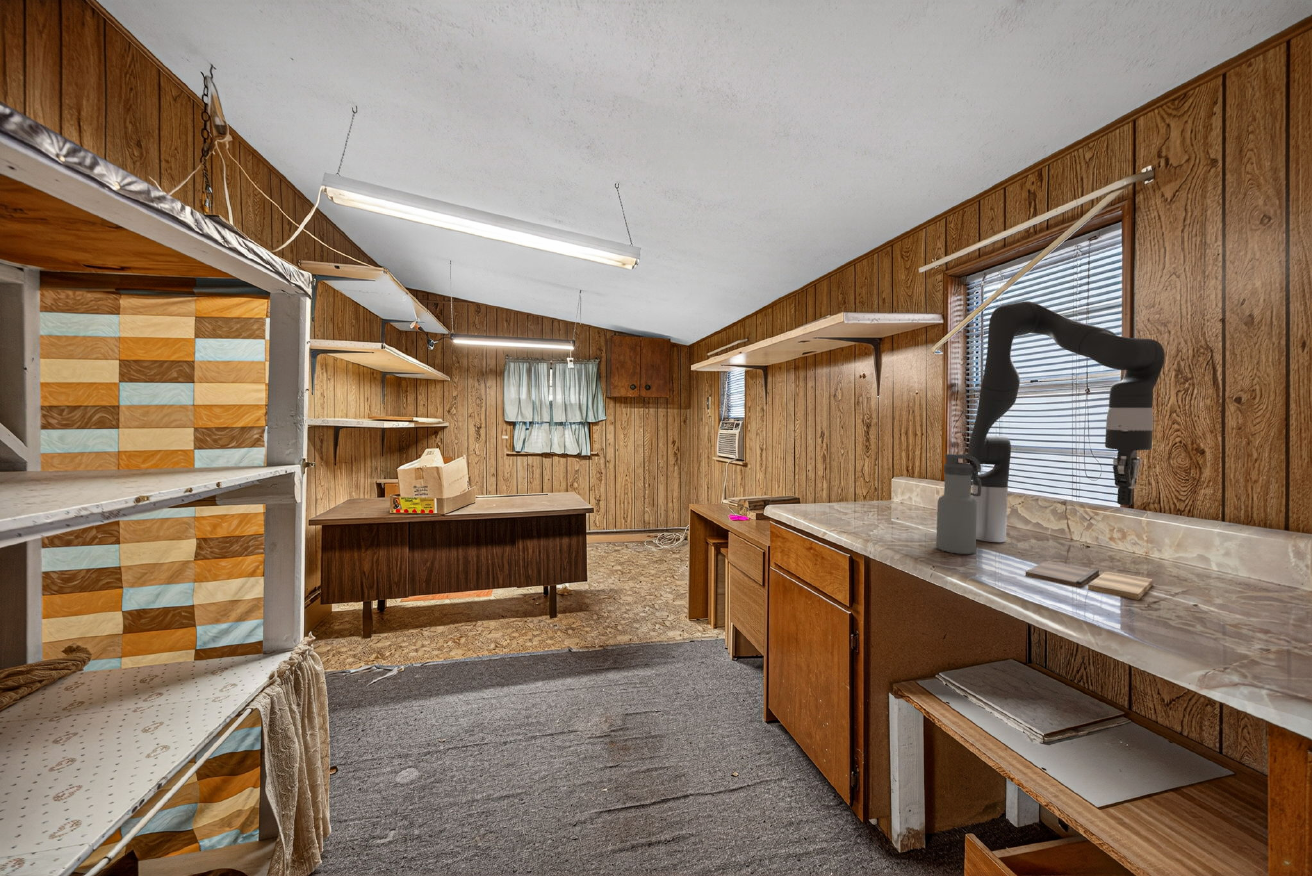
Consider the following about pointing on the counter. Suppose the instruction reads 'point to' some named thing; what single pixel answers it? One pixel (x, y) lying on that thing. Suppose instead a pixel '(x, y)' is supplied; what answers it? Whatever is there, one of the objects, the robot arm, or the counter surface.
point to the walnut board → (1063, 573)
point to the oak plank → (1121, 585)
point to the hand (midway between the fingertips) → (1124, 504)
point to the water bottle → (958, 506)
